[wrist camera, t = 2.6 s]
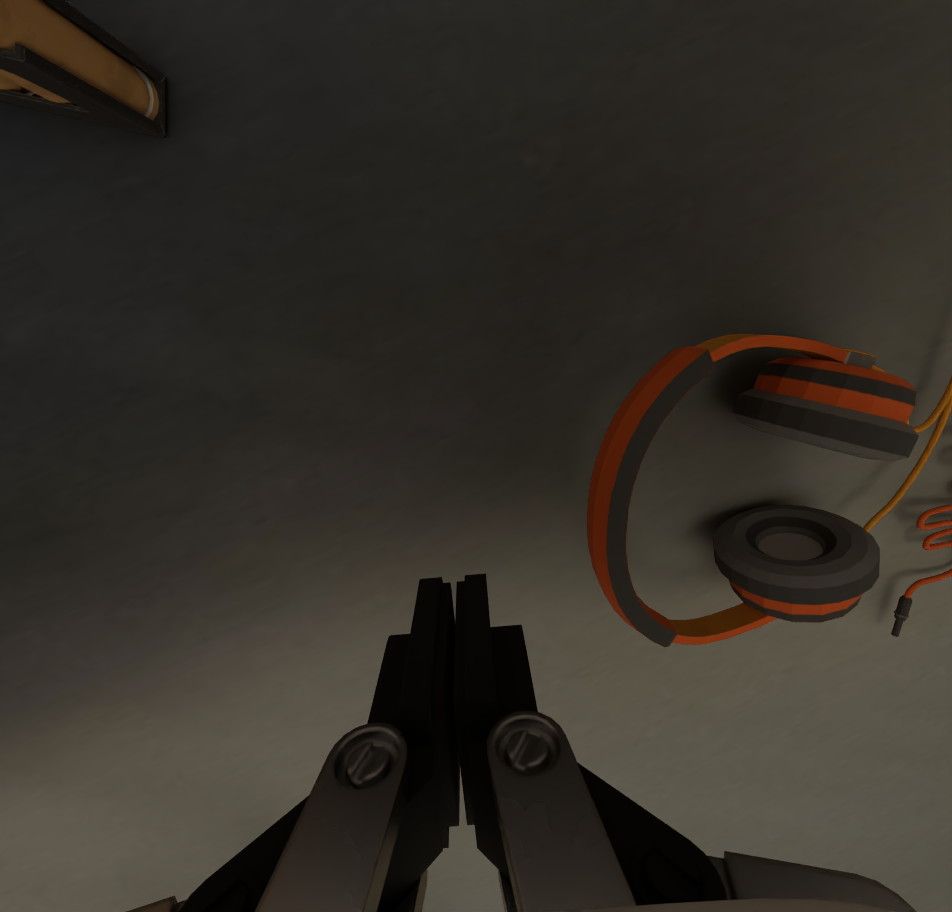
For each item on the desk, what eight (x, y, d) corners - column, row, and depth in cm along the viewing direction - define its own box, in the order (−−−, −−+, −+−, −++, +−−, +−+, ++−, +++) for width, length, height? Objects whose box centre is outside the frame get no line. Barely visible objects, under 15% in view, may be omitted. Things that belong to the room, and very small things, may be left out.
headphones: (1002, 249, 19) (568, 247, 15) (1220, 229, 15) (672, 217, 10) (898, 589, 25) (554, 663, 20) (1033, 658, 20) (617, 776, 15)
